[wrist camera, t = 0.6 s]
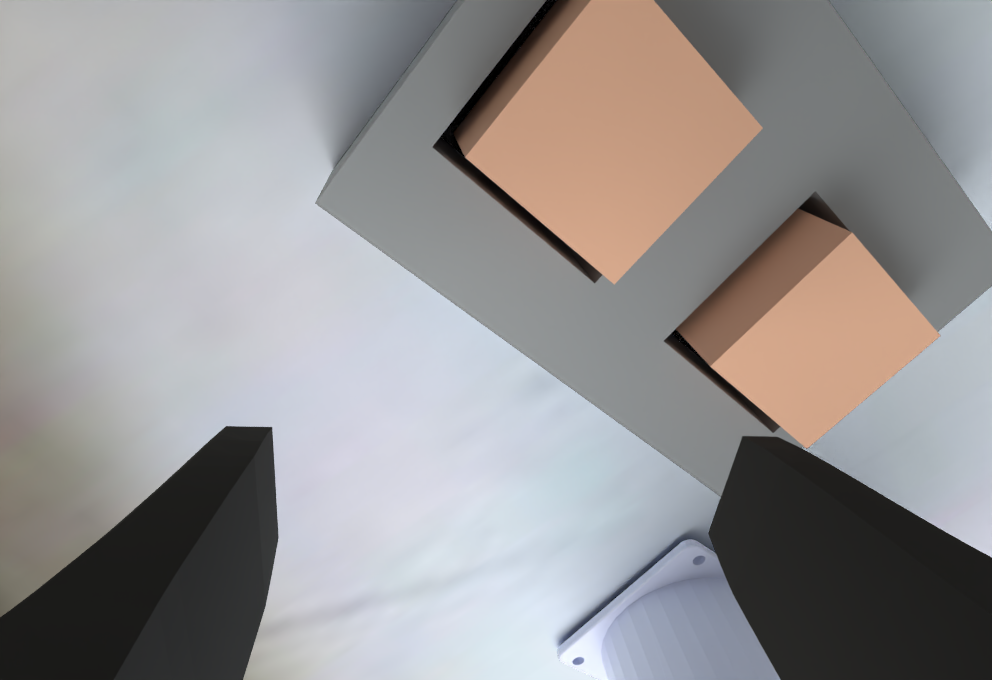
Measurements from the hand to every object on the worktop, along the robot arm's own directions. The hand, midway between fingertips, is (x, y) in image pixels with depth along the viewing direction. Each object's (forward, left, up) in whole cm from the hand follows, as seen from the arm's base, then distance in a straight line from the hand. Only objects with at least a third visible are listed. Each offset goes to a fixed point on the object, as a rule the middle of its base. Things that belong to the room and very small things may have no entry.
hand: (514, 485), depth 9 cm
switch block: (-3, -5, -10) cm, 11 cm away
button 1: (+1, -5, -8) cm, 9 cm away
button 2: (-7, -5, -8) cm, 11 cm away
